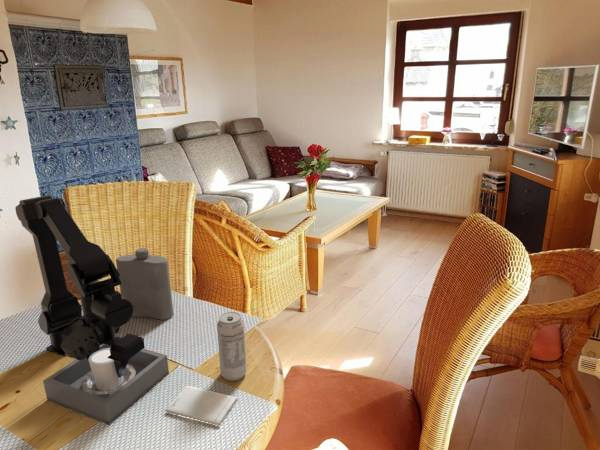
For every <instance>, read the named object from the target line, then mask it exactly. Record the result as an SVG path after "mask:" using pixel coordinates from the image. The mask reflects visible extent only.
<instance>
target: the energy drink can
mask: <svg viewBox="0 0 600 450" xmlns="http://www.w3.org/2000/svg"><path fill="white" fill-rule="evenodd" d="M216 331H217V340H218V341H217V343H218V345H217V346H218V356H219V370H220V375H221V376H222V377H223V378H224V379H225V380H226V381H228V382H229V381H230V382H235V381H239V380H242V379H243V378H244V377H245V374H246V373H247V372H248V371H247V369H248V368H247V366H248V365H247V353H246V352H247V351H246V336H245V335H246V333H245V322H244V320H243V319H242V315H241V314H240V313H239V312H236V311H227V312H224V313H222V314H221V315H219V318H218V321H217V323H216Z"/></svg>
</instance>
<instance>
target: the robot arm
mask: <svg viewBox="0 0 600 450" xmlns="http://www.w3.org/2000/svg"><path fill="white" fill-rule="evenodd" d="M14 210H15V214H16V217H17V218H18V220H19V222H20V223H21V226H22V227H23V228H24V229H25V230H26V231H28V232H29V233H30V234H31V235H32V238H33V244H34V247H35V252H36V255H37V260H38V264H39V268H40V274H41V277H42V282H43V285H44V291H45V293H44V295H43V297H42V299H41V302H40V306H41V312H40V315H39V317H38V320H37V321H38V322H37V323H38V325H39V329H40V330H41V331H42V332H43V333H44V334H45V335H47V336H49V341H50V345H48V346H47V347H46V348H45V349H46V351H47V352H51V353H54V354H56V355H60V356H65V355H66V356H67V357H68V358H72V359H74V360H76V359H77V360H83V359H84V358H85V357H86V358H87V359H89V357H90V356H91V355H92V354H93V353H95V352H97V351H99V350H100V345H103V344H107V345H110V346H111V348H110V354H111V355H110V356H109V357H108V358H109V359H112V360H113V361H114V365H115V369H116V373H117V375H118V377H119V378H120V377H121V376H123V374H124V371H125V369H126V366H127V363H128V361H129V359H130V358H131V357H132V356H134V355H135V354H137V353H138V352H139V351H141V350H142V349H143V348H144V349H146V347H145V346H146V345H145V338H144V337H141V336H139V335H136V334H133V333H126V334H125V335H123V336H122V337H121V336H118V335H117V333H119V332H121V327H123V326H125V325H126V324H127V323H128V322H129V321H130V320H131V318H132V317H131V316H132V314H133V306H132V304H131V303H130V302H129V301H128V300H127V299H125V298H123V297H122V296H121V292H120V291H118V290H116V288H115V287H118V286H120V285H121V281H120V278H119V277H120V274H119V272H118V270H117V266H116V265H115V263H114V261H113V260H112V258H111V257H110V256H109V254H107V253H106V252H105V251H104V249H102V247H101V246H100V245H98V244H96V243H94V242H91V241H89V240H88V239H87V238H86V236H85V234H84V233H83V232H82V230H81V229H80V227H79V226H78V224H77V223H76V222H75V220H74V218H73V217H72V216H71V214H70V213H69V211H68V210H67V206H66V204H65V201H64V199H62V198H61V197H52V196H51V195H49V194H47V195H44V196H43V195H42V196H37V197H32V198H25V199H20V201H19V203H18V205H16V206H15V209H14ZM58 243H59V245H60V246H61V249H63V251H64V252H65V254H66V256H67V257H68V259H67V265H66V266H67V267H66V268H67V273H68V275H69V278H70V280H71V282H72V283H73V285H74V286H75V288H76V289H77V291H78V293H79V299H80V302H79V300H78V297H77V296H76V295H75V294H73V293H72V292H71V291H70V290H69V289H68V286H67V282H66V277H65V273H64V268H63V265H62V259H61V255H60V249H59V246H58ZM107 277H110V278H107ZM104 278H106V279H104ZM102 279H104V280H102ZM88 361H89V360H88Z"/></svg>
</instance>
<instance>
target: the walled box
mask: <svg viewBox="0 0 600 450" xmlns="http://www.w3.org/2000/svg"><path fill="white" fill-rule="evenodd" d="M105 348H111V346H110V345H107V344H103V345H100V350H102V349H105ZM168 361H169V360H168V355H167V354H163V353H159V352H157V351H154V350H150V349H147V348H143V349H142V350H141V351H139V352H138V353H137V354H135V355H134V356H132V357H131V358H130V359H129V361H128V363H127V364H129V365H132V366H133V368H134V369H135V371H136V376H134V377H133V378H132V379H131V380H129V377H130V374H129V373H127V372H124V374H123V382H122V384H121V385H123V384H124V383H125V382H126V381H128V380H129V381H128V382H127V383H126V384H124V385H123V386H122V387H120V386H121V385H120V386H118V387H120V388H119V389H118V390H117V391H115V392H114V393H113V394H112V395H110V396H109V397H108V398H107V399H104V398H102V397H99V396H96V395H94V394H91V393H88V392H86V391H83V390H82V385H81V383H82V382H83V380H84V378H85V376H86V375H87V374H89V373H90V372H91V371H92V370H91V367H90V364H89V361H88V359H87V358H86V357H85V358H84V359H83V360H77V359H74V360H72V361H71V362H70V363H68V364H66V365H64V366H63V367H62V368H60V369H59V370H57V371H56V372H54V373H53V374H50V375H49V376H48V377H46V378H45V379H43V380H42V382H43V386H44V387H43V388H44V392H45V396H46V400H47V401H49V402H51V403H53V404H56V405H58V406H61V407H63V408H66V409H68V410H70V411H73V412H76V413H78V414H80V415H84V416H86V417H88V418H91V419H93V420H95V421H98V422H100V423H103V424H106V425H108V426H110V425H111V424H112V423H113V422H114V421H116V420H117V419H118V418H120V416H122V415H123V414H124V413H125V412H126V411H127V410H128V409H130V408H131V407H132V406H134V405H135V403H137V402H138V401H140V399H141V398H143V397H144V396H145V395H146V394H148V392H149V390H150V391H151V390H152V389H153V388H154V387H155V386H156V384H157V383H158V382H159V383H160V382H161V381H163V378H164V377H165V378H166V377H167V376H169V374H170V372H169V371H170V370H169V363H168ZM165 378H164V379H165ZM159 383H158V384H159ZM158 384H157V385H158ZM88 388H89V389H92V390H94V391H102V390H99V389H97V386H96V383H95V380H92V381H91V383H90V385H89V386H88ZM151 388H152V389H151ZM108 391H109V390H108Z"/></svg>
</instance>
